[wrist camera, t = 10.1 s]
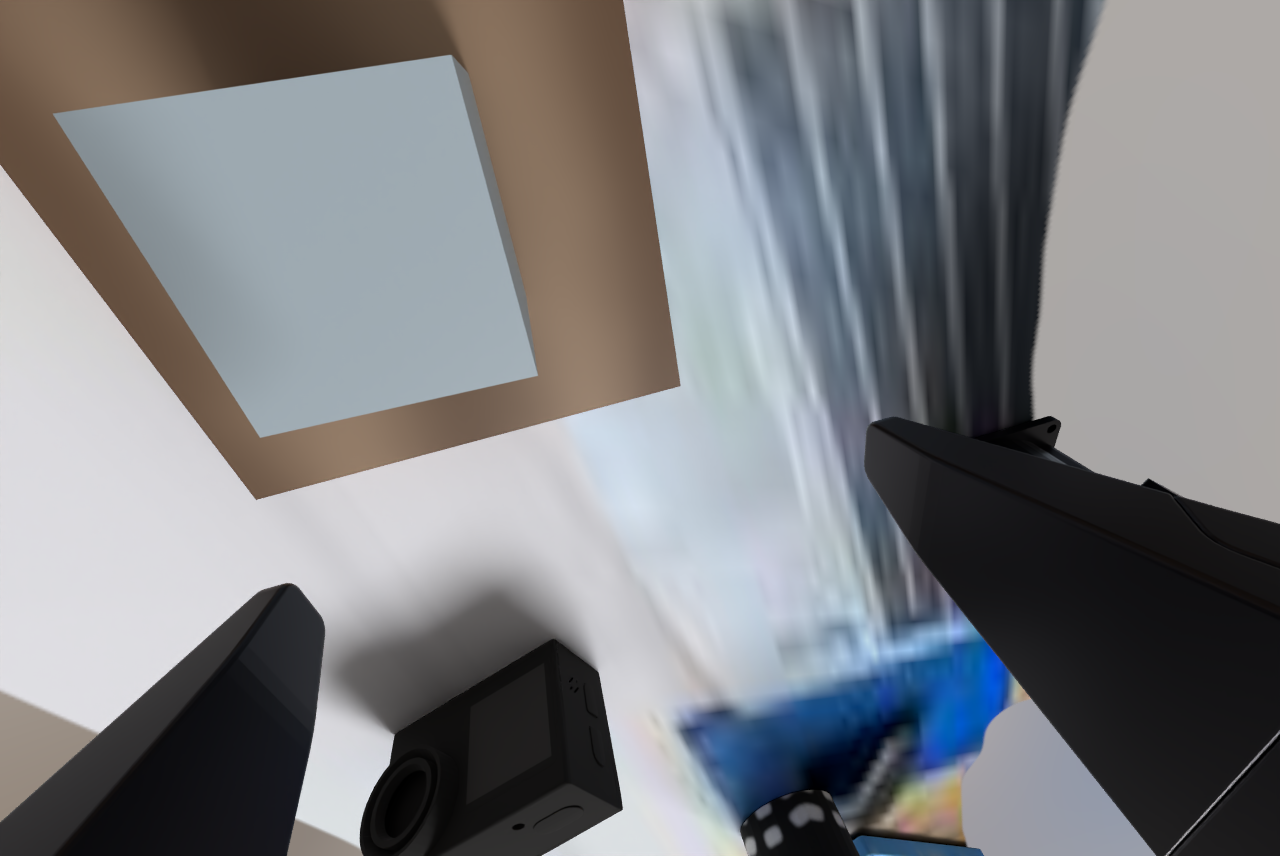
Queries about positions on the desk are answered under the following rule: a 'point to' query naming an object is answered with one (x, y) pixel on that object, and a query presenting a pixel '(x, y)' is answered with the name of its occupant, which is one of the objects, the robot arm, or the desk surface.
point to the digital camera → (500, 767)
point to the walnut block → (519, 151)
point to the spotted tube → (798, 827)
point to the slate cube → (323, 236)
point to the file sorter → (908, 848)
